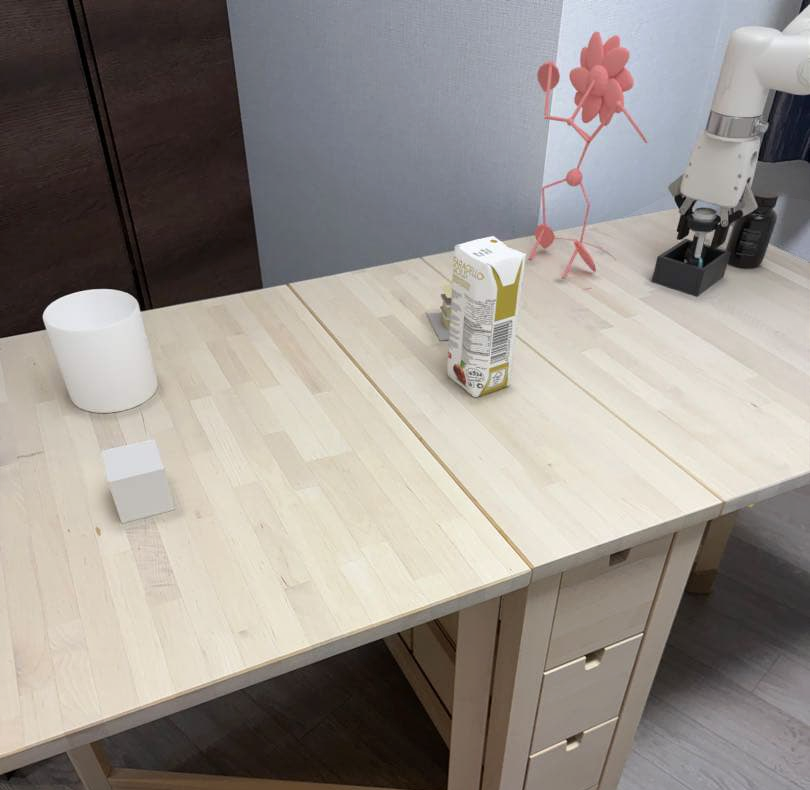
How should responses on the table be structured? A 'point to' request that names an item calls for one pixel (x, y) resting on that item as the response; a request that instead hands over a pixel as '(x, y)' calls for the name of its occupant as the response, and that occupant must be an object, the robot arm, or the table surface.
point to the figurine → (588, 113)
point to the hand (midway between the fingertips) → (698, 241)
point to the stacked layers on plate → (443, 315)
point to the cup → (101, 349)
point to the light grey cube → (137, 480)
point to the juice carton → (484, 314)
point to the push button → (700, 234)
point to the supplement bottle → (753, 231)
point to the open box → (690, 269)
